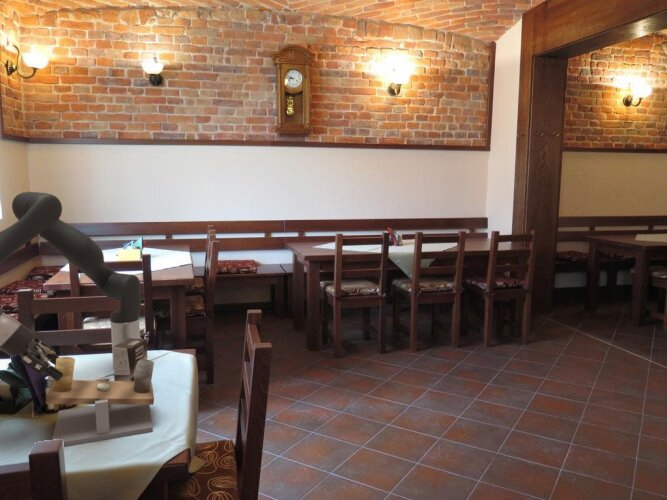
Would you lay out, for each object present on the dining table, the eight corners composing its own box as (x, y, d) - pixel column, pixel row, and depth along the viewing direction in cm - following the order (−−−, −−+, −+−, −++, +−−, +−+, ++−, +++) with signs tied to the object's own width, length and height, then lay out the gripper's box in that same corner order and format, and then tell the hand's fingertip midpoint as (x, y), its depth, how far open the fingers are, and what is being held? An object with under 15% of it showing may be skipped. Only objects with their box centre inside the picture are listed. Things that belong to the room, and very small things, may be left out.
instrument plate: (45, 404, 131) (49, 368, 130) (51, 384, 143) (55, 350, 142) (153, 405, 141) (158, 371, 140) (150, 386, 153) (155, 355, 153)
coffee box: (133, 399, 158) (130, 348, 156) (114, 397, 160) (111, 346, 157) (149, 386, 167) (147, 338, 164) (131, 385, 168) (129, 337, 166)
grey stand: (51, 448, 131) (48, 411, 129) (59, 414, 148) (56, 382, 146) (152, 431, 139) (150, 397, 138) (148, 401, 157) (147, 370, 155)
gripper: (14, 331, 126) (70, 370, 132) (24, 315, 139) (75, 351, 145) (-10, 355, 124) (48, 393, 131) (3, 337, 138) (55, 372, 144)
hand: (62, 371), depth 138 cm, fingers open, 8 cm apart
